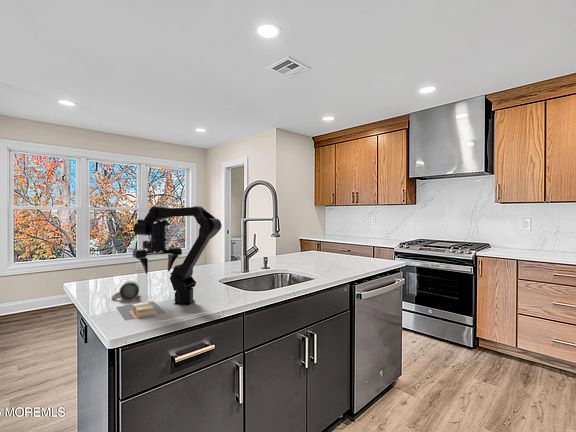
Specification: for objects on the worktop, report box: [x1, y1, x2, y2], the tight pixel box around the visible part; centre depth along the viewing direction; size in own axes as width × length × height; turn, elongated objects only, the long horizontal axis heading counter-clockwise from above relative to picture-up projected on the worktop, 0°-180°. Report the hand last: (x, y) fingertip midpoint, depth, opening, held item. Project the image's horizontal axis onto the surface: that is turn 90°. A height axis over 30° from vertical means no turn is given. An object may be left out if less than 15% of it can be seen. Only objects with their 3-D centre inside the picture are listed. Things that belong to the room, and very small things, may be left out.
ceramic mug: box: [111, 280, 140, 301], centre depth 136 cm, size 11×8×8 cm
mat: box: [115, 300, 167, 322], centre depth 120 cm, size 14×18×1 cm
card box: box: [132, 301, 154, 317], centre depth 117 cm, size 8×6×2 cm, turn 38°
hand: (157, 272), depth 133 cm, fingers open, 9 cm apart
